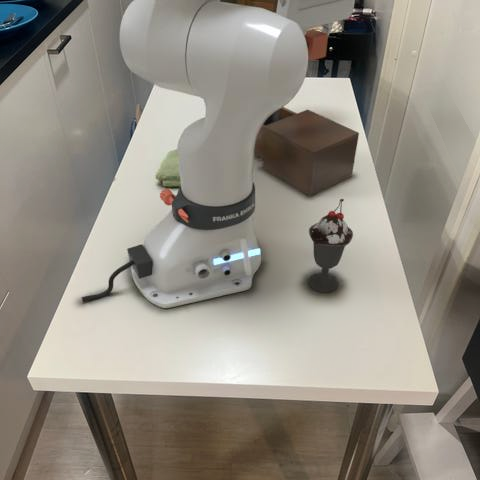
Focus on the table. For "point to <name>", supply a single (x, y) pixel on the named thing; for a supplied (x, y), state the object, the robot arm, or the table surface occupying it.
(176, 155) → the washcloth
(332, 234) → the sundae
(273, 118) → the drawer
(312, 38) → the block
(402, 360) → the table surface
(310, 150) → the cabinet
